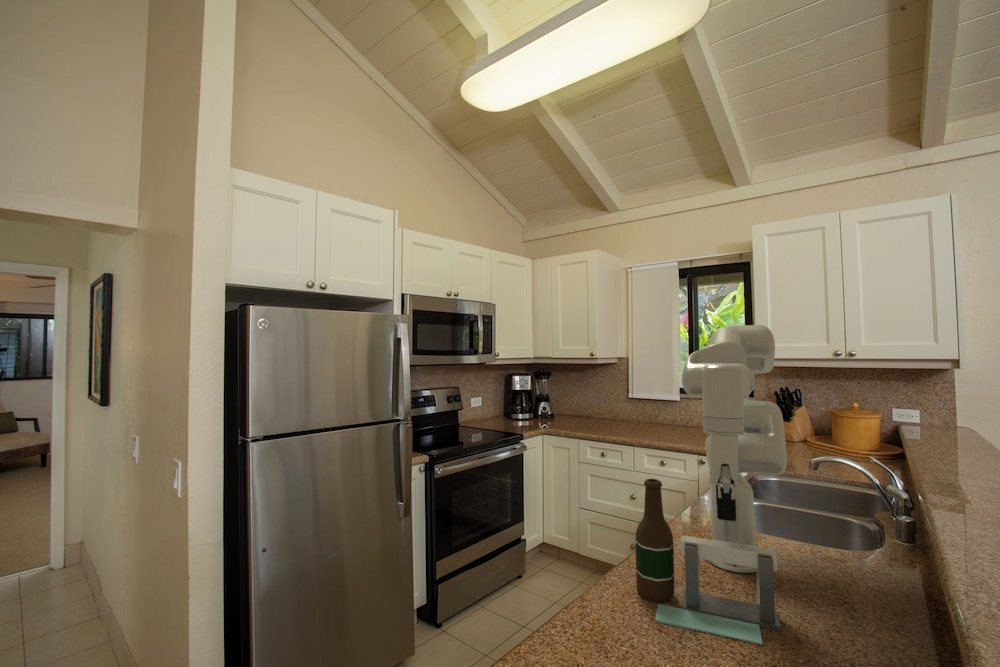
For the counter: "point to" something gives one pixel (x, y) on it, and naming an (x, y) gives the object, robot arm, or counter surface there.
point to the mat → (709, 623)
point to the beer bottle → (654, 549)
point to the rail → (729, 552)
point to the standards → (731, 608)
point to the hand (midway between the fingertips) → (725, 512)
